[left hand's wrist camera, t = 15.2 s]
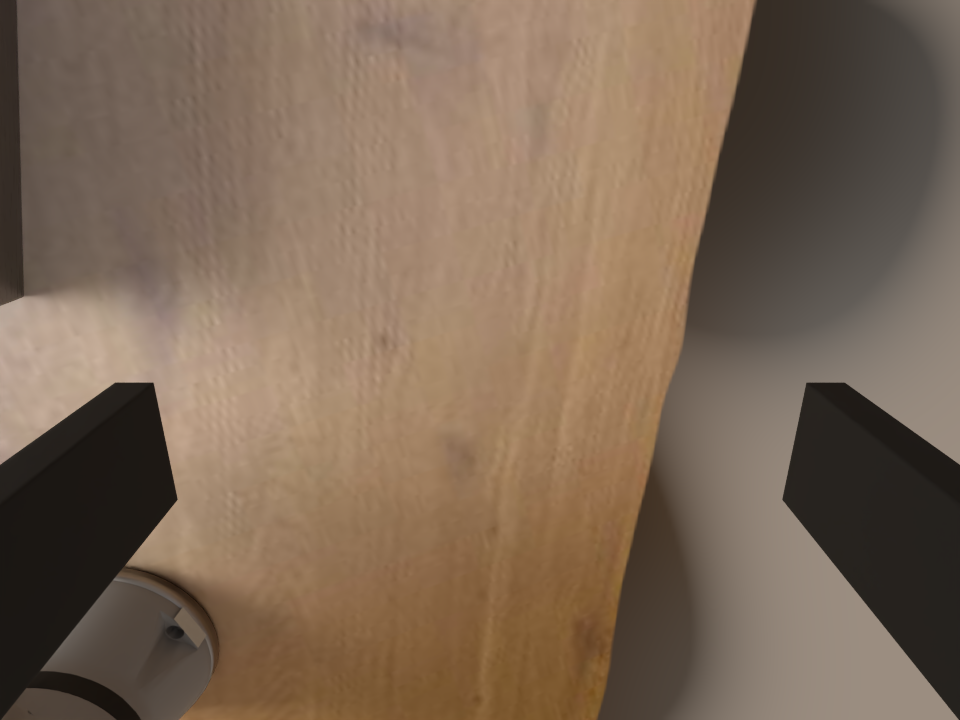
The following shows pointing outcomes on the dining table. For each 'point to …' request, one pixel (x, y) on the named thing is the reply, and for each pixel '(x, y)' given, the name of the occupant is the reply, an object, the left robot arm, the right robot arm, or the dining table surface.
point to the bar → (9, 160)
